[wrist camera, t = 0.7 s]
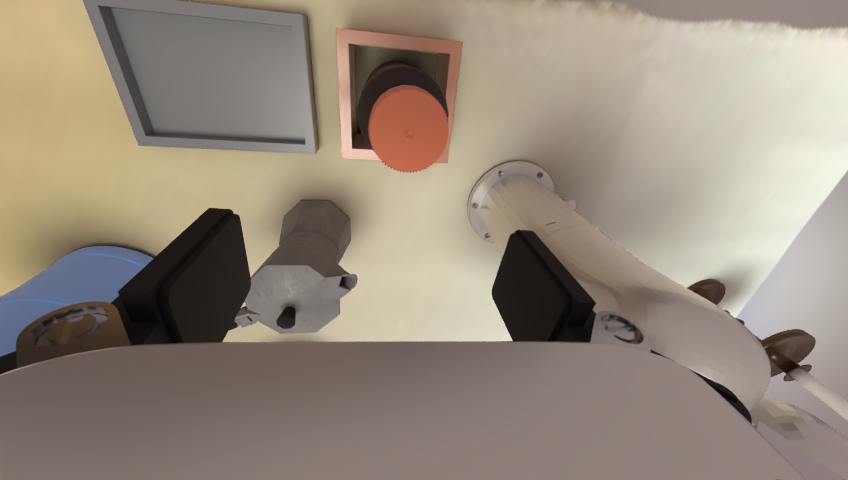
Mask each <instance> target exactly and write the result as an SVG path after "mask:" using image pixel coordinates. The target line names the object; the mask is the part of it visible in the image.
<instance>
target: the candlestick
mask: <svg viewBox="0 0 848 480" xmlns="http://www.w3.org/2000/svg"><path fill="white" fill-rule="evenodd" d="M687 289H689V290H691V291H693V292H694V293H696V294H698V295H700V296H702V297H703V298H705V299H707V300H709V301H710V302H712V303H713V304H715V305H717V304H718V303H719V302H720V301H721V300H722V298H723V297H724V294H725V286H724V285H723V284H722V283H720V282H719V281H717V280H714V279H708V280H703V281H700V282H697V283H695V284H693V285H691V286H690V287H688V288H687ZM724 311H726V312H727V313H729V312H728V311H727V310H724ZM729 314H730V313H729ZM735 319H737V318H735ZM737 320H738V321H739V322H740V323H742V324H743V325H744V322H743V321H742V320H740V319H737ZM753 335H754V334H753ZM754 336H755V335H754ZM755 337H756V336H755ZM756 338H757V337H756ZM757 339H758V340H759V342H760V343H761V344H762V346H763V348H764V349H765V351H766V353H767V356H768V358H769V361H770V366H771V377H772V376H775V375H777V374H780V373H782V372H785V373H786V375H785V376H784V381H793V380H796V381H797V382H799V383H800V384H801V385H803V386H804V387H805V388H806V389H808V390H809V391H810V392H812V393H813V394H814V395H816V396H817V397H818V398H819V399H820V400H822V401H823V402H824V403H826V404H827V405H828V406H829V407H831V408H832V409H833V410H835V411H836V412H837V413H838V414H840V415H841V416H842V417H844V418H845V419H846V420H847V421H848V402H847V401H845V400H844V399H843V398H841V397H840V396H839V395H837V394H836V393H835V392H833V391H832V390H831V389H829V388H828V387H827V386H825V385H824V384H823V383H821V382H820V381H819V380H817V379H816V378H814V377H813V376H812V375H810V374H809V373H808V372H809V371H810V370H811V368H812V366H811V365H802V366H800V365H798V363H799V362H800V361H802V360H803V359H804V358H805V357H806V356H807V355H808V354H809V353H810V352H811V351H812V349H813V348H814V346H815V338H814V337H813V336H811V335H810V334H808V333H806V332H805V331H803V330H798V329H794V330H787V331H783V332H780V333H777V334H774V335H772V336H770V337H768V338H766V339H764V340H760V339H759V338H757Z"/></svg>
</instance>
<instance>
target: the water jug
mask: <svg viewBox="0 0 848 480" xmlns="http://www.w3.org/2000/svg"><path fill="white" fill-rule="evenodd" d="M153 259H154V258H152V257H150V256H148V255H146V254H143V253H140V252H138V251H134V250H131V249H127V248H122V247H115V246H92V247H86V248H82V249H78V250H76V251H73V252H71V253H69V254H67V255H66V256H64V257H62V258H61V259H59V260H58V261H56V262H55V263H53V264H52V265H51V266H50V267H49V268H48V269H46V270H45V271H43V272H42V273H40V274H39V275H37V276H35V277H34V278H32V279H31V280H29V281H28V282H26V283H25V284H23V285H21V286H20V287H18V288H17V289H15V290H13V291H11V292H9V293H7V294H5V295H3V296H1V297H0V357H1V356H3V355H6V354H9V353H11V352H14V351H16V341H17V338H18V335H19V334H20V333H21V332H22V331H23V330H24V328H25V327H26V326H28V325H29V324H31V323H32V322H33V321H35V320H36V319H38V318H40V317H42V316H44V315H46V314H48V313H50V312H52V311H54V310H57V309H60V308H63V307H65V306H69V305H73V304H77V303H82V302H92V301H100V302H107V303H111V302H112V301H113V300H115V299H116V298H117V297H118V296H119V294H118V291H119V290H120V289H121V288H122V287H123V286H124V285H125V284H126V283H127V282H129V281H130V280H131V279H132V278H133V277H134V276H135V275H136V274H137V273H138V272H140V271H141V270H142V269H143V268H144V267H145V266H146V265H147V264H148V263H149V262H151V261H152V260H153Z"/></svg>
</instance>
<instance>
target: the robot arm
mask: <svg viewBox="0 0 848 480" xmlns="http://www.w3.org/2000/svg"><path fill="white" fill-rule="evenodd" d="M500 170H501V171H500ZM499 171H500V173H498V172H499ZM474 203H475V204H474ZM576 207H577V202H576V201H575V200H563V199H562V198H560V197H559V196H558V195H556V194H555V188H554V184H553V182H552V180H551V178H550V176H549V175H548V174H547V173H546V172H545V171H544V170H543V169H541V168H540V167H538V166H537V165H535V164H533V163H529V162H525V161H513V162H507V163H504V164H501V165H499V166H497V167H495V168H493V169H491V170H490V171H489V172H487V173H486V174H485V175H484V176H483V177H482V178H481V179H480V180H479V181H478V182H477V184H476V185H475V187H474V188H473V190H472V192H471V195H470V197H469V201H468V217H469V221H470V223H471V225H472V227H473V229H474V230H475V232H476V233H477V234H478V235H479V236H480V237H481V238H483V239H484V240H487V241H489V242H492V243H495V244H496V246H497V248H498V249H499V251H500V252H501V254H502V256H503V258H502V261H501V264H500V267H499V270H498V273H497V276H496V279H495V282H494V285H493V288H492V297H493V300H494V302H495V304H496V306H497V308H498V310H499V312H500V315H501V317H502V319H503V321H504V323H505V325H506V327H507V329H508V332H509V334H510V336H511V338H512V340H513V341H424V342H222V341H223V339H224V338H225V336H226V334H227V332H228V330H229V328H230V326H231V325H232V323H233V321H234V319H235V317H236V315H237V314H238V312H239V310H240V308H241V306H242V304H243V302H244V301H245V299H246V297H247V295H248V293H249V291H250V288H251V278H250V273H249V267H248V261H247V256H246V250H245V244H244V238H243V233H242V227H241V221H240V217H239V215H237V214H234V213H233V211H232V210H231V209H217V208H209V209H207V210H206V211H205V212H204V213H203V214H202V215H201V216H200V217H199V218H198V219H197V220H195V221H194V222H193V223H192V224H191V225H190V226H189V227H188V228H187V229H186V230H184V231H183V232H182V233H181V234H180V235H179V236H178V237H177V238H176V239H175V240H174V241H172V242H171V243H170V244H169V245H168V246H167V247H166V248H165V249H164V250H163V251H161V252H160V253H159V254H158V255H157V256H156V257H155V258H154V259H153V260H152V261H151V262H149V263H148V264H147V265H146V266H145V267H144V268H143V269H142V270H141V271H140V272H138V273H137V274H136V275H135V276H134V277H133V278H132V279H131V280H130V281H129V282H127V283H126V284H125V285H124V286H123V287H122V288H121V289H120V290H119V291H118V294H119V296H118V297H117V298H116V299H115V300H113V301H112V302H111V303H107V302H100V301H92V302H82V303H77V304H73V305H69V306H65V307H63V308H60V309H57V310H54V311H52V312H50V313H48V314H46V315H44V316H42V317H40V318H38V319H36V320H35V321H33V322H32V323H31V324H29V325H28V326H26V327H25V328H24V330H23V331H22V332H21V333H20V334H19V335H18V338H17V341H16V351H14V352H11V353H9V354H6V355H3V356H1V357H0V480H848V438H847V437H846V436H844V435H843V434H841V433H840V432H838V431H837V430H835V429H834V428H833V427H831V426H830V425H828V424H827V423H825V422H823V421H822V420H820V419H819V418H817V417H816V416H814V415H812V414H810V413H808V412H806V411H804V410H802V409H800V408H798V407H796V406H794V405H791V404H788V403H785V402H782V401H779V400H776V399H769V398H762V397H763V395H764V394H765V392H766V390H767V388H768V385H769V383H770V378H771V366H770V361H769V358H768V356H767V353H766V351H765V349H764V348H763V346H762V344H761V343H760V342H759V340H758V339H757V338H756V337H755V336H754V335H753V334H752V333H751V332H750V331H749V330H748V329H747V328H746V327H745V326H744V325H743V324H742V323H740V322H739V321H738V320H737V319H735V318H734V317H733V316H732V315H730V314H729V313H727V312H726V311H724V310H723V309H721V308H720V307H718V306H717V305H715V304H713V303H712V302H710V301H709V300H707V299H705V298H703V297H702V296H700V295H698V294H696V293H694V292H693V291H691V290H689V289H687V288H685V287H684V286H682V285H680V284H678V283H676V282H675V281H673V280H671V279H669V278H668V277H666V276H664V275H662V274H660V273H659V272H657V271H655V270H654V269H652V268H651V267H649V266H647V265H646V264H644V263H643V262H641V261H640V260H638V259H637V258H635V257H634V256H633V255H631V254H630V253H629V252H627V251H626V250H624V249H623V248H622V247H620V246H619V245H618V244H616V243H615V242H614V241H612V240H611V239H610V238H609V237H607V236H606V235H605V234H604V233H602V232H601V231H599V230H598V229H597V228H596V227H594V226H593V225H592V224H591V223H589V222H588V221H587V220H586V219H584V218H583V217H582V216H581V215H579V214H578V213H577V212H576V211H574V210H575V209H576Z"/></svg>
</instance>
